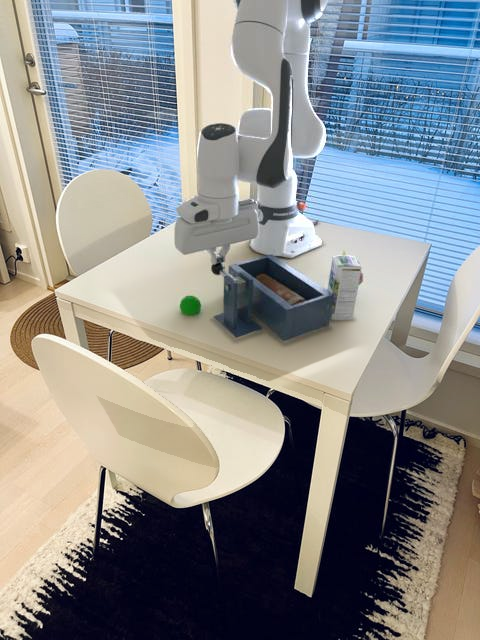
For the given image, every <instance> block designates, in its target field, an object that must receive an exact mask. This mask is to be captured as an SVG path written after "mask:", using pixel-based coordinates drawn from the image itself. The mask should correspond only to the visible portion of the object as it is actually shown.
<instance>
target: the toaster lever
mask: <svg viewBox="0 0 480 640" xmlns="http://www.w3.org/2000/svg"><path fill="white" fill-rule="evenodd" d="M210 270H211V273H212V274H213V275H215V276H222V277H223V278H224V276H226V275H228V276H229V277H230V278H232V279H233V280H234V281H235V282H237V283H238V293H240V292H244V291H246V281H245V280H243V279H242V278H241V277H240V276H239V277H235V278H234V277H233V276H232V275H231V274H229V271H227V270H226V266H225V264H224V262H223V263H219V264H215V265H214V264H212V263H211V267H210Z"/></svg>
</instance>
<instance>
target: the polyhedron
mask: <svg viewBox="0 0 480 640" xmlns="http://www.w3.org/2000/svg"><path fill="white" fill-rule="evenodd" d="M179 308H180V311H181V313H182V314H183V315H185V316H195V315H198V314H199V313H200V312H201V308H202V303H201V300H200V299H199V297H197V296H195V295H185V296H184V297H183V298H182V299H181V300H180V303H179Z"/></svg>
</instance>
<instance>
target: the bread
mask: <svg viewBox="0 0 480 640" xmlns="http://www.w3.org/2000/svg"><path fill="white" fill-rule="evenodd" d="M255 279H256V280H258V281H259V282H260V283H262V284H263V285H264V286H266V287H267V288H269V289H270V290H271V291H273V292H274V293H275V294H277V295H278V296H279V297H281V298H282V299H283V300H285V301H286V302H287V303H289V304H290V305H291V306H292V305H296V304H299V303H302V302H305V301H307V300H305V299H304V298H303V297H301V296H299V295H298V294H297V293H295V292H293V291H292V290H290V289H289V288H287V287H286V286H284V285H282V284H281V283H279V282H277V281H276V280H274V279H272V278H271V277H269V276H267V275H265V274H259V275H258V276H256V278H255Z"/></svg>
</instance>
